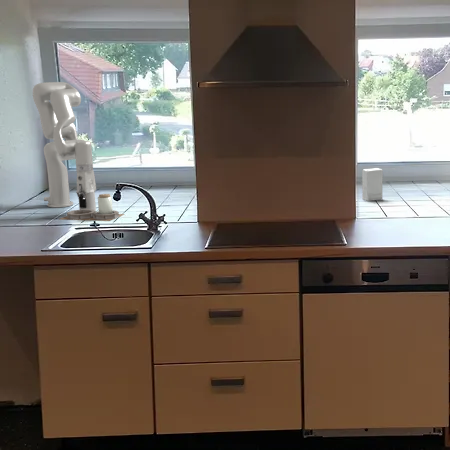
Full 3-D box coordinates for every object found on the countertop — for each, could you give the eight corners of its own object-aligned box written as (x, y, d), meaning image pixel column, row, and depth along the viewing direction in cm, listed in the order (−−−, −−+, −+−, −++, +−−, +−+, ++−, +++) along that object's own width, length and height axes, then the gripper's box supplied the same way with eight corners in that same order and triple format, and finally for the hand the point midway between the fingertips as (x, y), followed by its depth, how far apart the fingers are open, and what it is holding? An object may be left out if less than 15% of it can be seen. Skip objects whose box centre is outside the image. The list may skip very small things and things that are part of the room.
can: (92, 214, 305) (90, 188, 303) (77, 214, 307) (75, 188, 304) (98, 211, 312) (96, 186, 310) (83, 211, 314) (81, 186, 311)
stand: (58, 221, 291) (57, 214, 291) (75, 215, 305) (74, 208, 305) (109, 223, 284) (109, 216, 283) (125, 216, 298) (124, 209, 297)
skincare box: (377, 197, 325) (377, 167, 322) (383, 200, 319) (383, 169, 316) (361, 199, 323) (361, 168, 320) (366, 201, 318) (367, 170, 314)
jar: (96, 218, 291) (95, 195, 288) (103, 215, 296) (101, 193, 294) (109, 218, 289) (107, 196, 287) (115, 216, 294) (113, 193, 292)
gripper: (82, 170, 296) (85, 209, 300) (100, 165, 312) (103, 202, 316) (67, 170, 298) (70, 209, 302) (86, 165, 314) (89, 202, 318)
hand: (87, 205), depth 309 cm, fingers closed on can, 7 cm apart
